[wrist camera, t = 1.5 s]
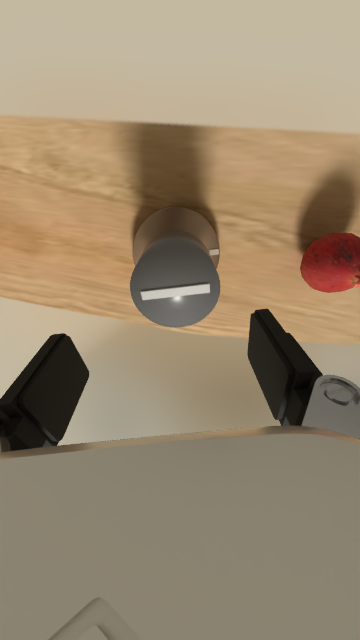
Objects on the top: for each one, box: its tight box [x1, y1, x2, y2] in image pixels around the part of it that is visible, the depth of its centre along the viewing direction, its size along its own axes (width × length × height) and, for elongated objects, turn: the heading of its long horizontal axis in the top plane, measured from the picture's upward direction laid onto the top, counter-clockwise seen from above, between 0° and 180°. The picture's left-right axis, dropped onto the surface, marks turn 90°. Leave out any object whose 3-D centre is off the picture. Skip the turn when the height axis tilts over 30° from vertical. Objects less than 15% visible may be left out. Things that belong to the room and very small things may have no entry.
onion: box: [300, 233, 360, 293], centre depth 21 cm, size 6×6×8 cm
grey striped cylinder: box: [130, 230, 220, 327], centre depth 18 cm, size 7×8×5 cm
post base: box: [133, 206, 220, 268], centre depth 22 cm, size 10×10×5 cm
